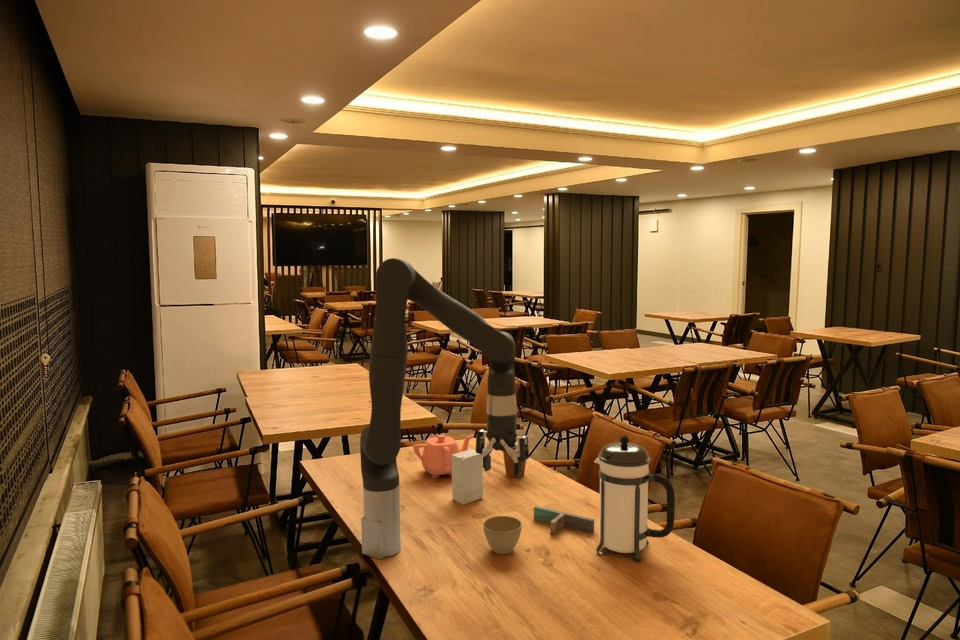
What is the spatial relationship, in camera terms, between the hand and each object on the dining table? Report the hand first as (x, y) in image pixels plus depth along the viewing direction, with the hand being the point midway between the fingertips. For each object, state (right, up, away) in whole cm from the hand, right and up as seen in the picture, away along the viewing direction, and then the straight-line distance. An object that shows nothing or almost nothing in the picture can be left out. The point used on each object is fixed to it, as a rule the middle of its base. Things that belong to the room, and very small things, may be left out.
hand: (502, 473), depth 163 cm
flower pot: (0, -20, +2) cm, 21 cm away
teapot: (-18, -15, +61) cm, 66 cm away
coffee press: (+32, -20, +1) cm, 38 cm away
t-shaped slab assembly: (+16, -19, +13) cm, 28 cm away
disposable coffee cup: (+7, -15, +58) cm, 60 cm away
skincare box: (-10, -17, +36) cm, 41 cm away
